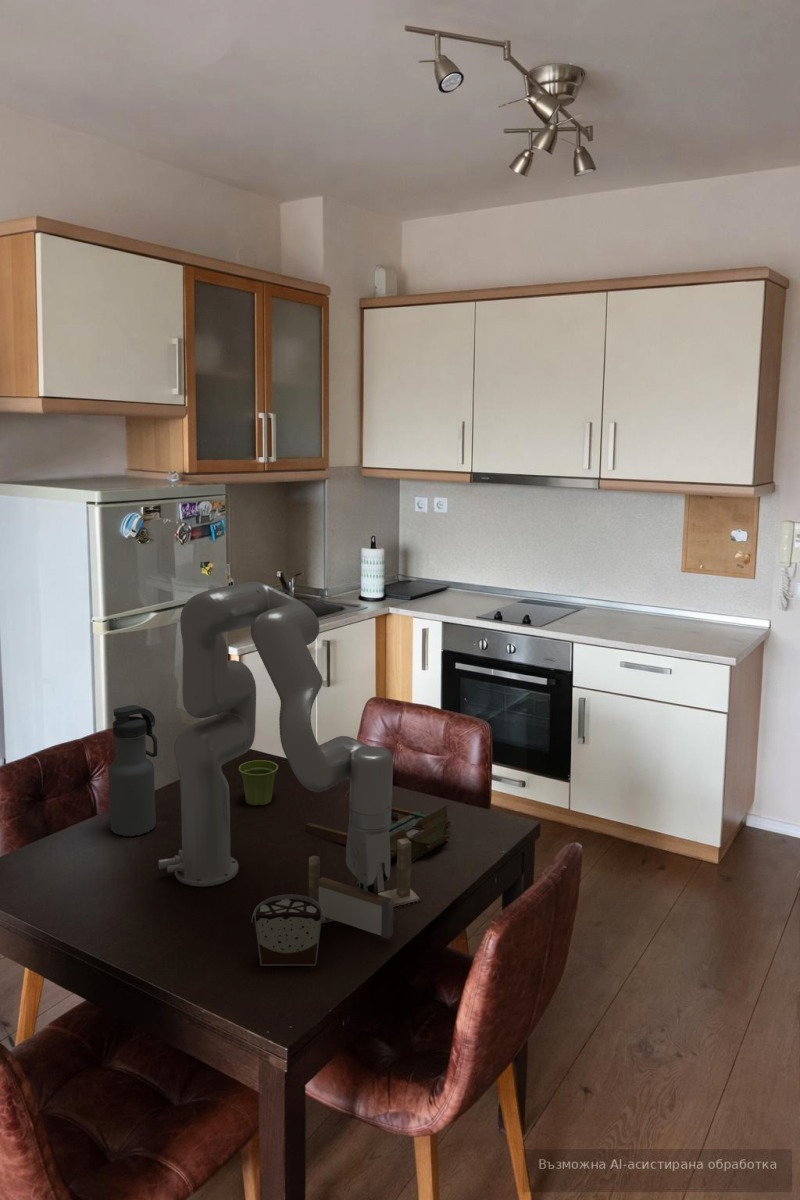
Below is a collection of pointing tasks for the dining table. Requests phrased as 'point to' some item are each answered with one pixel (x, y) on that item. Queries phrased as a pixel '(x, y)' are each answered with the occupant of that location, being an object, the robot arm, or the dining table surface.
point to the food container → (288, 930)
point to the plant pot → (258, 781)
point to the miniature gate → (401, 831)
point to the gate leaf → (356, 907)
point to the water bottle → (132, 773)
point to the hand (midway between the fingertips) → (367, 910)
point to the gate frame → (399, 894)
